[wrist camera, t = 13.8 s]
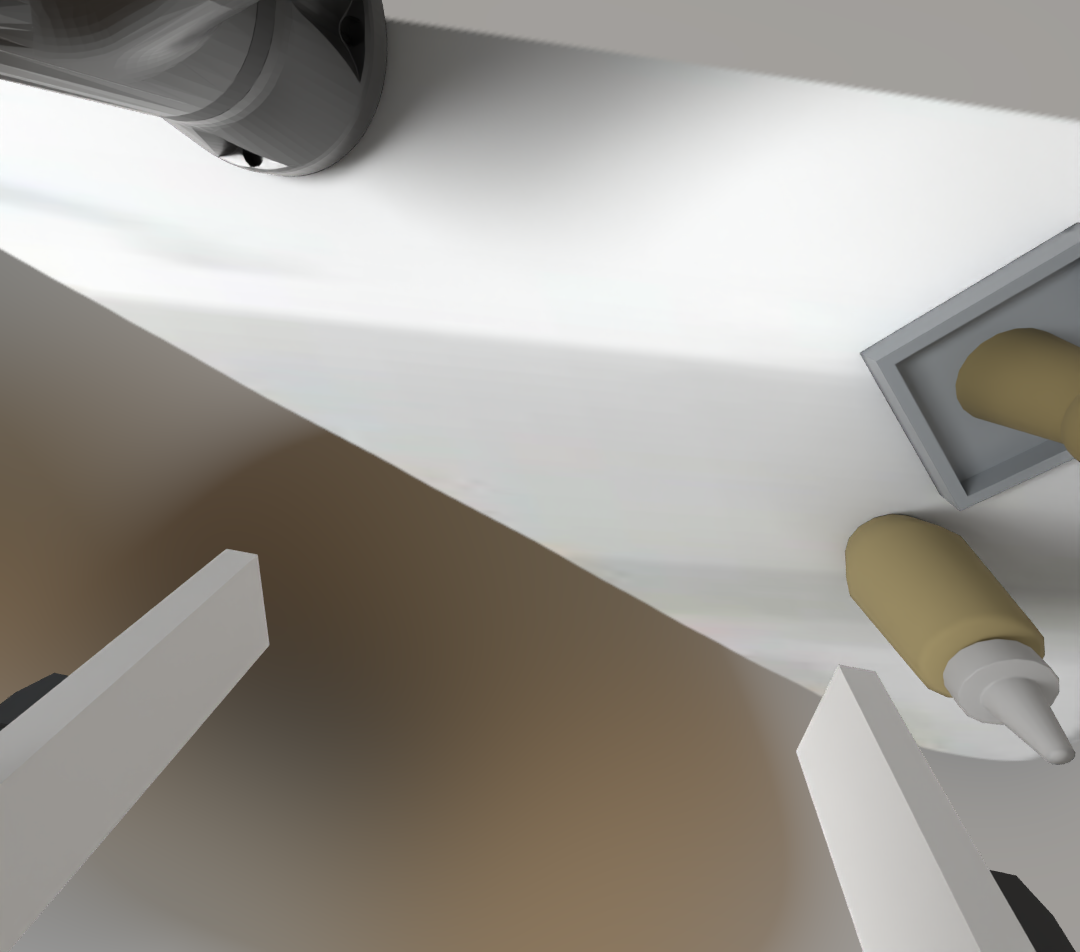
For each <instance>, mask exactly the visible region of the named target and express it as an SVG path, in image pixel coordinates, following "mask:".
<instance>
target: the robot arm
mask: <svg viewBox="0 0 1080 952" xmlns="http://www.w3.org/2000/svg"><path fill="white" fill-rule="evenodd" d="M386 59H387V36H386V24H385V16H384V10H383V4H382V0H0V79H1V80H6V81H10V82H14V83H18V84H22V85H27V86H31V87H35V88H39V89H44V90H48V91H52V92H56V93H60V94H65V95H69V96H73V97H77V98H82V99H86V100H90V101H94V102H98V103H103V104H107V105H111V106H115V107H120V108H124V109H128V110H132V111H136V112H141V113H145V114H149V115H154V116H158V117H161V118H163V119H164V120H165V121H167V122H168V123H169V124H171V125H172V126H174V127H175V128H176V129H178V130H179V131H180V132H182V133H183V134H185V135H186V136H187V137H189V138H190V139H191V140H193V141H194V142H196V143H197V144H198V145H200V146H201V147H202V148H204V149H205V150H207V151H208V152H210V153H211V154H213V155H215V156H216V157H218V158H220V159H222V160H224V161H226V162H228V163H230V164H232V165H235V166H238V167H240V168H243V169H246V170H250V171H254V172H259V173H265V174H271V175H278V176H301V175H307V174H311V173H315V172H318V171H321V170H323V169H325V168H327V167H329V166H331V165H333V164H334V163H336V162H337V161H339V160H340V159H341V158H343V157H344V156H345V155H346V154H347V153H348V152H349V151H350V150H351V149H352V148H353V147H354V146H355V145H356V144H357V142H358V141H359V140H360V139H361V137H362V136H363V134H364V133H365V131H366V129H367V128H368V126H369V124H370V122H371V120H372V118H373V116H374V113H375V111H376V108H377V106H378V103H379V100H380V96H381V92H382V88H383V83H384V78H385V71H386ZM268 646H269V640H268V631H267V624H266V616H265V608H264V602H263V593H262V585H261V578H260V570H259V562H258V555H256V554H251V553H246V552H240V551H235V550H229V549H226V550H225V551H223V552H222V553H221V554H220V555H218V556H217V557H216V558H215V559H213V560H212V561H211V562H210V563H208V564H207V565H206V566H205V567H203V568H202V569H201V570H200V571H198V572H197V573H196V574H195V575H193V576H192V577H191V578H190V579H189V580H187V581H186V582H185V583H184V584H182V585H181V586H180V587H179V588H177V589H176V590H175V591H174V592H172V593H171V594H170V595H169V596H167V597H166V598H165V599H164V600H163V601H161V602H160V603H159V604H157V605H156V606H155V607H154V608H153V609H151V610H150V611H149V612H148V613H147V614H145V615H144V616H143V617H141V619H139V620H138V621H137V622H135V623H134V624H133V625H132V626H130V627H129V628H128V629H126V630H125V631H124V632H123V633H122V634H120V635H119V636H118V637H117V638H115V639H114V640H113V641H112V642H110V643H109V644H108V645H107V646H105V647H104V648H103V649H102V650H101V651H99V652H98V653H97V654H95V655H94V656H93V657H92V658H91V659H89V660H88V661H87V662H86V663H84V664H83V665H82V666H81V667H79V668H78V669H77V670H76V671H74V672H73V673H72V674H71V675H69V676H66V675H61V674H57V673H53V674H51V675H49V676H47V677H45V678H43V679H41V680H40V681H37V682H35V683H33V684H31V685H29V686H28V687H25V688H23V689H21V690H20V691H17V692H16V693H14V694H13V695H12V696H10V697H9V698H8V699H6V700H5V701H4V702H2V703H1V704H0V952H9V951H10V950H11V948H12V947H13V946H14V945H15V944H16V942H17V941H18V940H19V939H20V938H21V937H22V935H23V934H24V933H25V932H26V931H27V929H28V928H29V927H30V926H31V925H32V924H33V922H34V921H35V920H36V919H37V918H38V916H39V915H40V914H41V913H42V912H43V911H44V909H45V908H46V907H47V905H49V903H50V902H51V901H52V900H53V899H54V898H55V896H56V895H57V894H58V893H59V892H60V891H61V889H62V888H63V887H64V886H65V885H66V884H67V882H68V881H69V880H70V879H71V878H72V877H73V875H74V874H75V873H76V872H77V871H78V869H79V868H80V867H81V866H82V865H83V864H84V862H85V861H86V860H87V859H88V858H89V856H90V855H91V854H92V853H93V852H94V851H95V849H96V848H97V847H98V846H99V845H100V844H101V842H102V841H103V840H104V839H105V838H106V837H107V835H108V834H109V833H110V832H111V831H112V829H113V828H114V827H115V826H116V825H117V824H118V822H119V821H120V820H121V819H122V818H123V817H124V815H125V814H126V813H127V812H128V811H129V809H130V808H131V807H132V806H133V805H134V804H135V802H136V801H137V800H138V799H139V798H140V797H141V795H142V794H143V793H144V792H145V791H146V789H147V788H148V787H149V786H150V785H151V784H152V782H153V781H154V780H155V779H156V778H157V777H158V775H159V774H160V773H161V772H162V771H163V769H164V768H165V767H166V766H167V765H168V764H169V762H170V761H171V760H172V759H173V758H174V757H175V755H176V754H177V753H178V752H179V751H180V750H181V748H182V747H183V746H184V745H185V743H186V742H187V741H188V740H189V739H190V738H191V737H192V735H193V734H194V733H195V732H196V731H197V730H198V728H199V727H200V726H201V725H202V723H203V722H204V721H205V720H206V719H207V718H208V717H209V715H210V714H211V713H212V712H213V711H214V709H215V708H216V707H217V706H218V705H219V703H220V702H221V701H222V700H223V699H224V698H225V697H226V695H227V694H228V693H229V692H230V691H231V689H232V688H233V687H234V686H235V685H236V684H237V682H238V681H239V680H240V679H241V678H242V676H243V675H244V674H245V673H246V672H247V671H248V669H249V668H250V667H251V666H252V665H253V664H254V662H255V661H256V660H257V659H258V658H259V657H260V655H261V654H262V653H263V652H264V651H265V649H266V648H267V647H268ZM796 752H797V755H798V758H799V761H800V764H801V767H802V770H803V773H804V776H805V779H806V782H807V785H808V788H809V791H810V794H811V797H812V800H813V803H814V806H815V809H816V812H817V815H818V818H819V821H820V824H821V827H822V830H823V833H824V836H825V839H826V842H827V845H828V848H829V851H830V854H831V857H832V860H833V863H834V866H835V869H836V872H837V875H838V878H839V881H840V884H841V887H842V890H843V893H844V896H845V899H846V902H847V905H848V908H849V911H850V914H851V917H852V920H853V923H854V926H855V929H856V932H857V935H858V938H859V941H860V944H861V947H862V950H863V952H1076V951H1075V950H1074V948H1073V947H1072V945H1071V943H1070V942H1069V940H1068V939H1067V937H1066V935H1065V934H1064V932H1063V931H1062V929H1061V928H1060V926H1059V924H1058V923H1057V921H1056V920H1055V918H1054V916H1053V915H1052V914H1051V913H1050V912H1049V911H1048V910H1047V909H1046V908H1045V906H1044V905H1043V904H1042V903H1041V902H1040V901H1039V900H1038V899H1037V898H1036V897H1035V896H1034V895H1033V893H1032V892H1031V891H1030V890H1029V889H1028V888H1027V887H1026V886H1025V885H1024V884H1023V883H1022V881H1021V880H1020V879H1019V878H1018V877H1017V876H1016V875H1011V874H1006V873H1002V872H997V871H991V870H989V869H988V867H987V865H986V864H985V862H984V860H983V858H982V857H981V855H980V853H979V851H978V850H977V848H976V846H975V844H974V843H973V841H972V839H971V837H970V836H969V834H968V832H967V831H966V829H965V827H964V825H963V824H962V822H961V820H960V818H959V817H958V815H957V813H956V811H955V809H954V808H953V806H952V804H951V803H950V801H949V799H948V797H947V796H946V794H945V792H944V790H943V789H942V787H941V785H940V783H939V782H938V780H937V778H936V776H935V775H934V773H933V771H932V769H931V768H930V766H929V764H928V762H927V761H926V759H925V757H924V755H923V754H922V752H921V751H920V748H919V747H918V745H917V743H916V741H915V740H914V738H913V736H912V734H911V733H910V731H909V729H908V727H907V726H906V724H905V722H904V721H903V719H902V717H901V715H900V714H899V712H898V710H897V708H896V707H895V705H894V703H893V701H892V700H891V698H890V696H889V694H888V693H887V691H886V689H885V687H884V686H883V684H882V682H881V680H880V679H879V677H878V675H877V673H876V672H875V671H870V670H865V669H860V668H854V667H849V666H844V665H839V664H838V666H837V668H836V670H835V673H834V675H833V677H832V679H831V681H830V683H829V685H828V687H827V689H826V691H825V693H824V695H823V697H822V699H821V701H820V703H819V705H818V708H817V710H816V712H815V714H814V716H813V718H812V720H811V722H810V724H809V726H808V728H807V730H806V732H805V734H804V736H803V739H802V741H801V743H800V745H799V747H798V749H797V751H796Z"/></svg>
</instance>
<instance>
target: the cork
mask: <svg viewBox="0 0 1080 952" xmlns="http://www.w3.org/2000/svg"><path fill="white" fill-rule="evenodd" d="M955 386H956V395H957V399H958V401H959V403H960V405H961V406H962V408H963V410H965V411H966V412H967V413H969V414H970V415H971V416H973V417H975V418H978V419H982V420H985V421H988V422H992V423H995V424H998V425H1002V426H1005V427H1008V428H1012V429H1015V430H1018V431H1022V432H1025V433H1029V434H1032V435H1035V436H1039V437H1042V438H1045V439H1049V440H1052V441H1055V442H1059V443H1062V444H1064V445H1065V447H1066V449H1067V451H1068V452H1069V453H1070V454H1071V455H1072V456H1073V457H1074V458H1075V459H1076V460H1078V461H1079V462H1080V347H1078V346H1076V345H1074V344H1072V343H1070V342H1067V341H1065V340H1063V339H1061V338H1059V337H1057V336H1055V335H1053V334H1051V333H1049V332H1046V331H1042V330H1039V329H1035V328H1015V329H1012V330H1009V331H1005V332H1002V333H999V334H996V335H995V336H993V337H991V338H990V339H988V340H986V341H984V342H983V343H981V344H980V345H979V346H978V347H977V348H976V349H975V350H974V351H973V352H972V353H971V354H970V355H969V356H968V357H967V358H966V360H965V362H964V363H963V365H962V367H961V368H960V370H959V373H958V377H957V380H956V384H955Z"/></svg>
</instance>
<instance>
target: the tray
mask: <svg viewBox="0 0 1080 952" xmlns="http://www.w3.org/2000/svg"><path fill="white" fill-rule="evenodd" d="M1015 328H1035V329H1039V330H1042V331H1046V332H1049V333H1051V334H1053V335H1055V336H1057V337H1059V338H1061V339H1063V340H1065V341H1067V342H1070V343H1072V344H1074V345H1076V346H1078V347H1080V223H1076V224H1074V225H1072V226H1071V227H1069V228H1067V229H1066V230H1064V231H1062V232H1061V233H1059V234H1057V235H1056V236H1054V237H1052V238H1051V239H1049V240H1047V241H1046V242H1044V243H1042V244H1041V245H1039V246H1037V247H1036V248H1034V249H1032V250H1031V251H1029V252H1027V253H1026V254H1024V255H1022V256H1021V257H1019V258H1017V259H1016V260H1014V261H1012V262H1011V263H1009V264H1007V265H1006V266H1004V267H1002V268H1001V269H999V270H997V271H996V272H994V273H992V274H991V275H989V276H987V277H986V278H984V279H982V280H981V281H979V282H977V283H976V284H974V285H972V286H971V287H969V288H967V289H966V290H964V291H962V292H961V293H959V294H957V295H956V296H954V297H952V298H951V299H949V300H947V301H946V302H944V303H942V304H941V305H939V306H937V307H936V308H934V309H932V310H931V311H929V312H927V313H926V314H924V315H922V316H921V317H919V318H917V319H916V320H914V321H912V322H911V323H909V324H907V325H906V326H904V327H902V328H901V329H899V330H897V331H896V332H894V333H892V334H891V335H889V336H887V337H886V338H884V339H882V340H881V341H879V342H877V343H876V344H874V345H872V346H871V347H869V348H867V349H866V350H864V351H862V352H861V353H860V354H861V356H862V358H863V360H864V362H865V363H866V365H867V367H868V369H869V370H870V372H871V374H872V376H873V377H874V379H875V381H876V383H877V384H878V386H879V388H880V390H881V391H882V393H883V395H884V397H885V398H886V400H887V402H888V404H889V406H890V407H891V409H892V411H893V413H894V414H895V416H896V418H897V420H898V421H899V423H900V425H901V427H902V428H903V430H904V432H905V434H906V435H907V437H908V439H909V441H910V443H911V444H912V446H913V448H914V450H915V451H916V453H917V455H918V457H919V458H920V460H921V462H922V464H923V465H924V467H925V469H926V471H927V472H928V474H929V476H930V478H931V479H932V481H933V483H934V485H935V487H936V488H937V490H938V492H939V494H940V495H941V496H942V497H943V498H945V499H946V500H947V501H948V502H950V503H951V504H952V505H953V506H954V507H956V508H957V509H958V510H959V511H961V510H963V509H966V508H968V507H970V506H972V505H974V504H976V503H979V502H981V501H983V500H985V499H987V498H989V497H992V496H994V495H996V494H998V493H1000V492H1002V491H1005V490H1007V489H1009V488H1011V487H1013V486H1015V485H1018V484H1020V483H1022V482H1024V481H1026V480H1028V479H1031V478H1033V477H1035V476H1037V475H1039V474H1041V473H1043V472H1046V471H1048V470H1050V469H1052V468H1054V467H1056V466H1059V465H1061V464H1063V463H1065V462H1067V461H1069V460H1072V459H1074V457H1073V456H1072V455H1071V454H1070V453H1069V452H1068V451H1067V449H1066V447H1065V445H1064V444H1062V443H1059V442H1055V441H1052V440H1049V439H1045V438H1042V437H1039V436H1035V435H1032V434H1029V433H1025V432H1022V431H1018V430H1015V429H1012V428H1008V427H1005V426H1002V425H998V424H995V423H992V422H988V421H985V420H982V419H978V418H975V417H973V416H971V415H970V414H969V413H967V412H966V411H965V410H963V408H962V406H961V405H960V403H959V401H958V399H957V395H956V386H955V384H956V380H957V377H958V373H959V370H960V368H961V367H962V365H963V363H964V362H965V360H966V358H967V357H968V356H969V355H970V354H971V353H972V352H973V351H974V350H975V349H976V348H977V347H978V346H979V345H980V344H981V343H983V342H984V341H986V340H988V339H990V338H991V337H993V336H995V335H996V334H999V333H1002V332H1005V331H1009V330H1012V329H1015Z"/></svg>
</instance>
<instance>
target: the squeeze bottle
mask: <svg viewBox="0 0 1080 952" xmlns="http://www.w3.org/2000/svg"><path fill="white" fill-rule="evenodd" d="M845 558H846V579H847V583H848V588H849V593H850V596H851V597H852V599H853V600H854V601H855V602H856V603H857V605H858V606H859V607H860V608H861V609H862V611H863V612H864V613H865V614H866V615H867V617H868V618H869V619H870V620H871V621H872V622H873V624H874V625H875V626H876V627H877V628H878V630H879V631H880V632H881V633H882V634H883V636H884V637H885V638H886V639H887V640H888V642H889V643H890V644H891V645H892V646H893V648H894V649H895V650H896V651H897V652H898V654H899V655H900V656H901V657H902V658H903V660H904V661H905V662H906V663H907V664H908V666H909V667H910V668H911V669H912V670H913V671H914V673H915V674H916V675H917V676H918V677H919V679H920V680H921V681H922V682H923V683H924V684H925V685H926V687H927V688H928V689H930V690H933V691H935V692H937V693H939V694H941V695H944V696H946V697H951V698H954V700H955V701H956V703H957V704H958V705H959V707H960V708H961V709H962V710H963V711H964V712H965V714H966V715H967V716H969V717H971V718H973V719H976V720H978V721H980V722H982V723H990V724H998V725H1005V726H1007V727H1008V728H1009V729H1010V730H1011V731H1012V732H1014V733H1015V734H1016V735H1017V736H1018V737H1019V738H1021V739H1022V740H1023V741H1024V742H1025V743H1026V744H1028V745H1029V746H1030V747H1031V748H1032V749H1033V750H1034V751H1036V752H1037V753H1038V754H1039V755H1040V756H1041V757H1043V758H1044V759H1045V760H1046V761H1047V762H1049V763H1051V764H1056V765H1060V764H1065V763H1068V762H1070V761H1071V760H1073V759H1074V757H1075V751H1074V750H1073V748H1072V746H1071V744H1070V742H1069V740H1068V739H1067V737H1066V735H1065V733H1064V731H1063V729H1062V728H1061V726H1060V724H1059V722H1058V720H1057V719H1056V717H1055V715H1054V713H1053V711H1052V709H1051V708H1050V706H1051V705H1052V704H1053V702H1054V700H1055V698H1056V697H1057V695H1058V693H1059V678H1058V677H1057V675H1056V674H1055V673H1054V671H1053V670H1052V669H1051V668H1050V667H1049V665H1048V664H1047V663H1046V662H1045V661H1044V660H1043V657H1044V656H1045V649H1044V637H1043V636H1042V634H1041V633H1040V632H1039V631H1038V629H1037V628H1036V627H1035V625H1034V624H1033V623H1032V622H1031V620H1030V619H1029V618H1028V617H1027V616H1026V614H1025V613H1024V612H1023V611H1022V610H1021V608H1020V607H1019V606H1018V605H1017V603H1016V602H1015V601H1014V600H1013V599H1012V597H1011V596H1010V595H1009V594H1008V593H1007V591H1006V590H1005V589H1004V588H1003V587H1002V585H1001V584H1000V583H999V582H998V580H997V579H996V578H995V577H994V576H993V574H992V573H991V572H990V571H989V570H988V568H987V567H986V566H985V565H984V564H983V562H982V561H981V560H980V559H979V558H978V556H977V555H976V554H975V553H974V551H973V550H972V549H971V548H970V547H969V545H968V544H967V543H966V542H965V541H964V539H963V538H962V537H961V536H960V535H958V534H955V533H953V532H951V531H949V530H947V529H945V528H943V527H941V526H938V525H935V524H932V523H929V522H926V521H922V520H919V519H916V518H913V517H910V516H907V515H894V514H889V515H885V516H881V517H877V518H873V519H871V520H870V521H868V522H866V523H865V524H863V525H861V526H859V527H858V528H857V530H856V531H855V532H854V533H853V534H852V536H851V537H850V538H849V540H848V544H847V547H846V550H845Z"/></svg>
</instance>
